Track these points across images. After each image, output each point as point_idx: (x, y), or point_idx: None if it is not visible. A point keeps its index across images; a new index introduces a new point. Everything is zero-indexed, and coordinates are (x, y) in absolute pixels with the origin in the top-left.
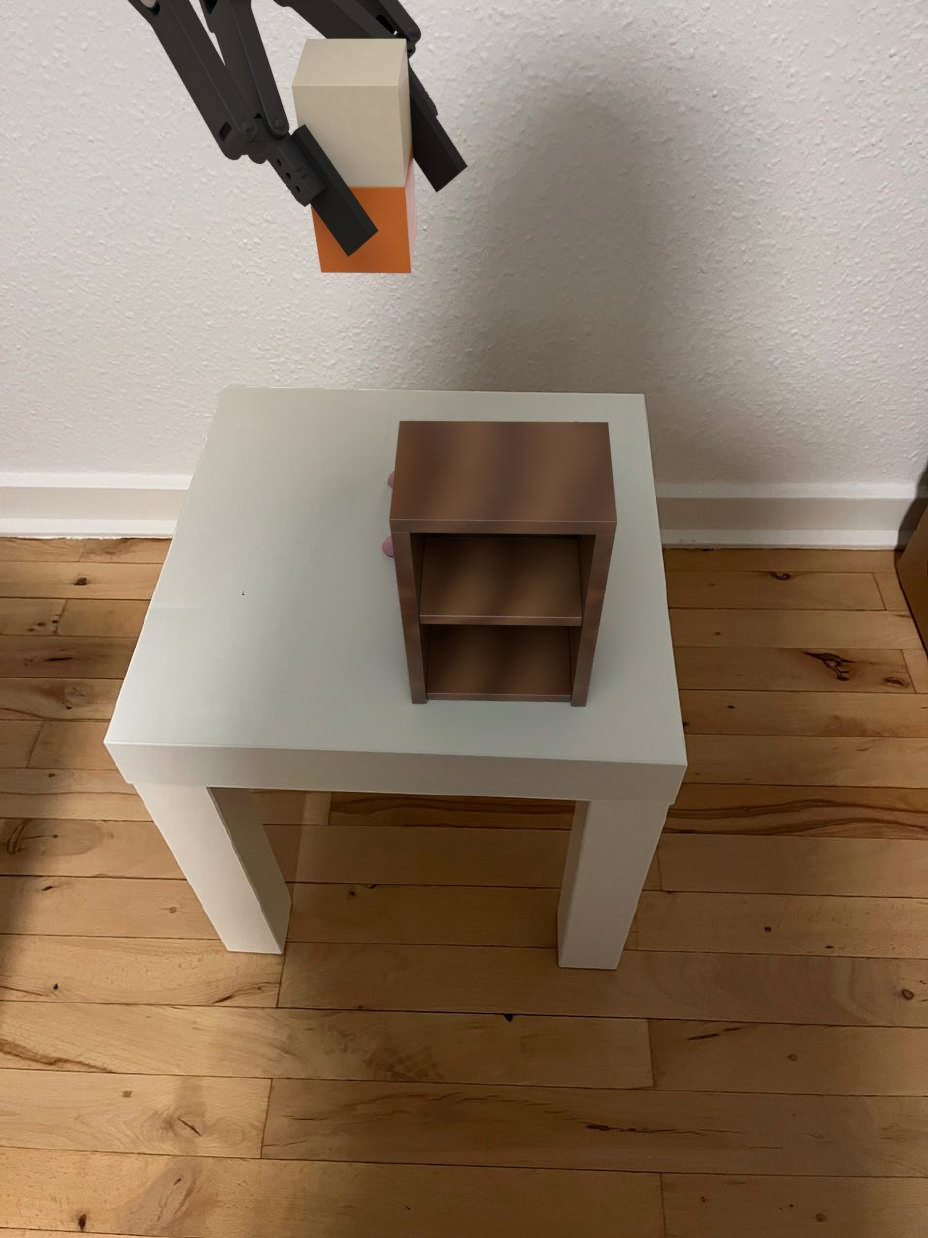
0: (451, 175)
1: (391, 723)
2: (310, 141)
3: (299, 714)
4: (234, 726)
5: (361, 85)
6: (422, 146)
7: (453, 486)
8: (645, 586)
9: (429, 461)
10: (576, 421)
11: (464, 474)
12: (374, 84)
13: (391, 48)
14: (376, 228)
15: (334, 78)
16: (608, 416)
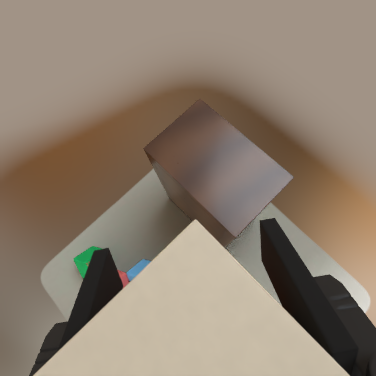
0: (112, 262)
1: (268, 215)
2: (328, 322)
3: (298, 247)
4: (326, 263)
5: (249, 274)
6: None
7: (247, 171)
8: (136, 189)
9: (245, 195)
10: (84, 263)
11: (236, 173)
12: (227, 256)
13: (81, 372)
14: (261, 222)
15: (279, 347)
16: (51, 279)
